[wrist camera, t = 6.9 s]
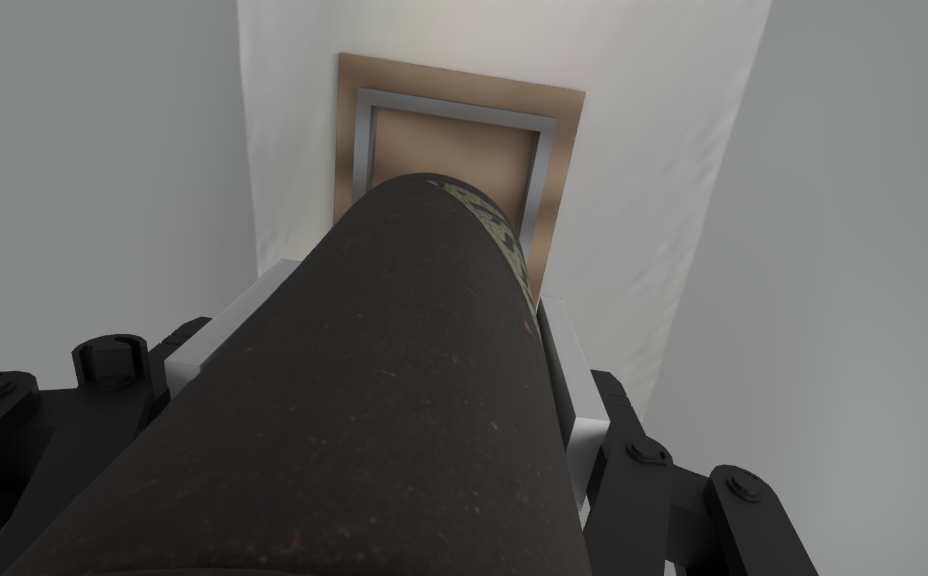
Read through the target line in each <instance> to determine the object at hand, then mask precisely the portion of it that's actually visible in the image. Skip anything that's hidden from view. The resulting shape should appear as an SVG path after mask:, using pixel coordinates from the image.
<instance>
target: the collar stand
mask: <svg viewBox="0 0 928 576" xmlns="http://www.w3.org/2000/svg"><path fill="white" fill-rule="evenodd" d="M585 94H586V92H582V91H576V90H570V89H563V88H557V87H551V86H545V85H538V84H532V83H526V82H520V81H513V80H507V79H501V78H495V77H489V76H482V75H476V74H470V73H464V72H457V71H451V70H445V69H439V68H432V67H426V66H420V65H414V64H408V63H401V62H395V61H389V60H383V59H376V58H370V57H364V56H358V55H351V54H345V53H340V54H339V82H338V110H337V139H336V167H335V195H334V223H333V227H334V225H335V224H336V223H337V222H338V221H339V220H340V218H341V217H342V216H343V215H344V214H345V212H346V211H347V210H348V209H349V208H350V207H351V206H352V205H353V204H355V203H356V202H357V201H358V200H359V199H360V198H361V197H362V196H364V195H365V194H366V193H367V192H368V191H370V190H371V189H372V188H374V187H375V186H377V185H379V184H380V183H382V182H384V181H386V180H389V179H392V178H394V177H397V176H401V175H406V174H412V173H437V174H442V175H447V176H450V177H453V178H456V179H459V180H461V181H464V182H466V183H468V184H470V185H472V186H474V187H475V188H477V189H479V190H480V191H482V192H483V193H485V194H486V195H487V196H488V197H490V198H491V199H492V200H493V201H494V202H495V203H496V204H497V205H498V206H499V207H500V208H501V209H502V210H503V212H504V213H505V215H506V216H507V218H508V219H509V221H510V222H511V224H512V226H513V228H514V230H515V232H516V234H517V236H518V238H519V241H520V244H521V247H522V251H523V255H524V259H525V264H526V269H527V273H528V278H529V282H530V287H531V293H532V297H533V301H534V306H535V310H536V305H537V301H538V297H539V292H540V288H541V284H542V279H543V275H544V271H545V266H546V262H547V258H548V253H549V249H550V245H551V241H552V236H553V232H554V228H555V223H556V219H557V215H558V210H559V206H560V202H561V197H562V193H563V189H564V184H565V180H566V176H567V171H568V167H569V163H570V158H571V154H572V150H573V146H574V141H575V137H576V133H577V128H578V124H579V120H580V115H581V111H582V107H583V102H584V98H585Z"/></svg>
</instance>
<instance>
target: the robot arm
mask: <svg viewBox="0 0 928 576" xmlns="http://www.w3.org/2000/svg"><path fill="white" fill-rule="evenodd" d="M301 262H302V261H295V260H288V259H281V260H280V261H279V262H278V263H277V264H275V265H274V266H273V267H272V268H271V269H270V270H268V271H267V272H266V273H265V274H264V275H263V276H262V277H260V278H259V279H258V280H257V281H256V282H255V283H253V284H252V285H251V286H250V287H249V288H248V289H247V290H245V291H244V292H243V293H242V294H241V295H240V296H238V297H237V299H235V300H234V301H233V302H231V303H230V304H229V305H228V306H227V307H226V308H225V309H223V310H222V311H221V312H220V313H219V314H218V315H216V316H215V317H214V318H207V317H199V318H197V319H194V320H192V321H189V322H187V323H185V324H183V325H182V326H180V327H179V328H178V329H177V330H175V331H174V332H173V333H172V335H169V336H168V337H167V338H165V339H164V340H163V341H162V343H159V344H158V345H157V346H155V347H154V348H153V349H152V350H151V351H149V352H148V349H147V342H146V341H145V340H144V339H143V338H141V337H139V336H135V335H131V334H114V335H106V336H101V337H98V338H94V339H91V340H88V341H86V342H84V343H82V344H80V345H78V346H77V347H76V348H75V349H74V350H73V351H72V352H71V353H72V357H73V362H74V367H75V371H76V376H77V380H78V387H77V388H73V389H57V390H40V391H39V389H38V385H37V381H36V377H35V376H33V375H32V374H30V373H27V372H20V371H9V372H0V576H1V575H2V574H3V573H4V572H5V571H6V570H7V569H8V568H9V567H10V566H11V565H12V564H13V563H14V562H15V561H16V560H17V559H18V558H19V557H20V556H21V555H22V554H23V553H24V552H25V551H26V550H27V548H28V547H29V546H30V545H31V544H32V543H33V542H34V541H35V540H36V539H37V538H38V537H39V536H40V535H41V534H42V533H43V531H44V530H45V529H46V528H47V527H48V526H49V525H50V524H51V523H52V522H53V521H54V520H55V519H56V518H57V517H58V515H59V514H60V513H61V512H62V511H64V510H65V509H66V508H67V507H68V506H69V505H70V504H71V502H72V501H73V500H74V499H75V498H76V497H77V496H78V495H79V494H80V493H81V492H82V491H84V490H85V489H86V488H87V487H88V486H89V485H90V484H91V483H92V482H93V481H94V480H95V478H96V477H97V476H98V475H100V474H101V473H102V472H103V471H104V470H105V469H106V468H107V467H108V466H109V465H110V464H111V463H112V462H113V461H114V460H115V459H116V458H117V457H118V456H119V455H120V454H121V453H122V452H123V451H124V450H125V449H126V448H127V447H128V446H129V445H130V444H131V443H132V442H133V441H134V440H135V439H136V438H137V437H138V436H139V435H140V434H141V433H142V432H143V431H144V430H145V429H146V427H147V426H148V425H149V424H150V423H151V422H152V421H153V420H155V419H156V418H157V417H158V416H159V415H160V414H161V413H162V411H163V410H164V409H165V408H166V407H167V406H168V404H169V403H170V401H171V400H172V399H173V398H174V397H175V396H176V395H177V394H178V393H179V392H180V391H181V390H182V389H183V388H184V387H185V385H186V384H187V383H188V382H189V381H191V380H193V379H194V378H195V377H196V376H197V375H198V374H199V373H200V372H201V371H202V369H203V368H204V367H205V366H206V365H207V364H208V363H209V362H210V361H211V360H212V358H213V357H214V356H215V355H216V354H217V353H218V352H219V351H220V350H221V349H222V348H223V346H224V345H225V344H226V343H227V342H228V341H229V339H230V338H231V337H232V336H233V335H234V334H235V333H236V332H237V331H238V330H239V329H240V328H241V327H242V325H243V324H244V323H245V322H246V321H247V320H248V319H249V318H250V317H251V316H252V315H253V314H254V313H255V311H256V310H257V309H258V308H259V307H260V306H261V305H262V304H263V303H264V302H265V301H266V300H267V299H268V298H269V297H270V295H271V294H272V293H273V292H274V291H275V290H276V289H277V288H278V287H279V285H280V284H281V283H282V282H283V281H284V280H285V279H286V278H287V277H288V276H289V275H290V274H291V273H292V272H293V271H294V270H295V269H296V268H297V267H298V266H299V265H300V264H301ZM536 316H537V321H538V326H539V330H540V335H541V341H542V345H543V349H544V354H545V357H546V361H547V365H548V370H549V375H550V380H551V385H552V390H553V396H554V401H555V407H556V411H557V417H558V421H559V426H560V431H561V436H562V440H563V446H564V450H565V455H566V459H567V465H568V470H569V474H570V479H571V483H572V487H573V491H574V496H575V500H576V504H577V509H578V511H581V509H582V506H583V503H584V500H585V497H586V494H587V497H588V501H589V505H590V512H589V515H588V518H587V521H586V524H585V527H584V529H583V536H584V540H585V544H586V548H587V552H588V557H589V561H590V566H591V570H592V575H593V576H664V568H665V560H668V561H670V562H672V563H674V566H675V571H676V575H677V576H819V575H818V573H817V571H816V570H815V567H814V566H813V564H812V562H811V560H810V558H809V556H808V554H807V552H806V550H805V548H804V546H803V544H802V543H801V541H800V539H799V537H798V535H797V533H796V531H795V529H794V528H793V525H792V523H791V522H790V520H789V518H788V516H787V514H786V512H785V510H784V508H783V506H782V504H781V502H780V500H779V498H778V497H777V495H776V494H775V493H774V491H773V490H772V488H771V487H770V486H769V485H768V484H766V483H765V482H764V481H763V480H762V479H760V478H759V477H758V476H756V475H754V474H752V473H751V472H749V471H747V470H744V469H742V468H739V467H736V466H731V465H720V466H716V467H715V468H714V469H713V471H712V472H711V474H710V477H709V478H708V477H706V476H703V475H700V474H697V473H694V472H691V471H689V470H686V469H683V468H681V467H679V466H676V465H674V464H673V460H672V456H671V455H670V454H669V452H668V451H667V450H666V448H665V447H663V446H662V445H661V444H660V443H658V442H657V441H655V440H653V439H651V438H650V437H648V436H646V434H645V432H644V430H643V428H642V426H641V424H640V422H639V420H638V418H637V416H636V413H635V411H634V409H633V407H631V403H630V401H629V399H628V397H626V393H625V391H624V388H623V386H622V384H621V383H620V382H619V381H618V380H617V379H616V378H615V377H614V376H613V375H612V374H611V373H610V372H604V371H597V370H590V369H589V366H588V364H587V361H586V359H585V356H584V354H583V351H582V348H581V346H580V343H579V341H578V338H577V336H576V333H575V331H574V328H573V326H572V323H571V320H570V318H569V315H568V313H567V310H566V308H565V305H564V303H563V300H562V299H560V298H553V297H546V296H540V301H539V305H538V309H537V314H536Z"/></svg>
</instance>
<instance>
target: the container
mask: <svg viewBox="0 0 928 576" xmlns="http://www.w3.org/2000/svg"><path fill="white" fill-rule="evenodd" d="M1 576H593V575H592V570H591V566H590V561H589V557H588V552H587V548H586V544H585V540H584V536H583V532H582V528H581V523H580V519H579V514H578V509H577V504H576V500H575V496H574V491H573V487H572V483H571V479H570V474H569V470H568V465H567V459H566V455H565V450H564V446H563V440H562V436H561V431H560V426H559V421H558V417H557V411H556V407H555V401H554V396H553V390H552V385H551V380H550V375H549V370H548V365H547V361H546V357H545V354H544V349H543V345H542V341H541V335H540V330H539V326H538V321H537V316H536V311H535V306H534V301H533V297H532V293H531V287H530V282H529V278H528V273H527V269H526V264H525V259H524V255H523V251H522V247H521V244H520V241H519V238H518V236H517V234H516V232H515V230H514V228H513V226H512V224H511V222H510V221H509V219H508V218H507V216H506V215H505V213H504V212H503V210H502V209H501V208H500V207H499V206H498V205H497V204H496V203H495V202H494V201H493V200H492V199H491V198H490V197H488V196H487V195H486V194H485V193H483V192H482V191H480V190H479V189H477V188H475V187H474V186H472V185H470V184H468V183H466V182H464V181H461V180H459V179H456V178H453V177H450V176H447V175H442V174H437V173H412V174H406V175H401V176H397V177H394V178H392V179H389V180H386V181H384V182H382V183H380V184H379V185H377V186H375V187H374V188H372V189H371V190H370V191H368V192H367V193H366V194H365V195H364V196H362V197H361V198H360V199H359V200H358V201H357V202H356V203H355V204H353V205H352V206H351V207H350V208H349V209H348V210H347V211H346V212H345V214H344V215H343V216H342V217H341V218H340V220H339V221H338V222H337V223H336V224H335V225H334V227H332V228H331V230H330V231H329V232H328V233H327V234H326V236H325V237H324V238H323V239H322V240H321V241H320V243H319V244H318V245H317V246H316V247H315V248H314V249H313V250H312V251H311V253H310V254H309V255H308V256H307V257H306V258H305V259H304V260H303V261H302V262H301V264H300V265H299V266H298V267H297V268H296V269H295V270H294V271H293V272H292V273H291V274H290V275H289V276H288V277H287V278H286V279H285V280H284V281H283V282H282V283H281V284H280V285H279V287H278V288H277V289H276V290H275V291H274V292H273V293H272V294H271V295H270V297H269V298H268V299H267V300H266V301H265V302H264V303H263V304H262V305H261V306H260V307H259V308H258V309H257V310H256V311H255V313H254V314H253V315H252V316H251V317H250V318H249V319H248V320H247V321H246V322H245V323H244V324H243V325H242V327H241V328H240V329H239V330H238V331H237V332H236V333H235V334H234V335H233V336H232V337H231V338H230V339H229V341H228V342H227V343H226V344H225V345H224V346H223V348H222V349H221V350H220V351H219V352H218V353H217V354H216V355H215V356H214V357H213V358H212V360H211V361H210V362H209V363H208V364H207V365H206V366H205V367H204V368H203V369H202V371H201V372H200V373H199V374H198V375H197V376H196V377H195V378H194V379H193V380H191V381H189V382H188V383H187V384H186V385H185V387H184V388H183V389H182V390H181V391H180V392H179V393H178V394H177V395H176V396H175V397H174V398H173V399H172V400H171V401H170V403H169V404H168V406H167V407H166V408H165V409H164V410H163V411H162V413H161V414H160V415H159V416H158V417H157V418H156V419H155V420H153V421H152V422H151V423H150V424H149V425H148V426H147V427H146V429H145V430H144V431H143V432H142V433H141V434H140V435H139V436H138V437H137V438H136V439H135V440H134V441H133V442H132V443H131V444H130V445H129V446H128V447H127V448H126V449H125V450H124V451H123V452H122V453H121V454H120V455H119V456H118V457H117V458H116V459H115V460H114V461H113V462H112V463H111V464H110V465H109V466H108V467H107V468H106V469H105V470H104V471H103V472H102V473H101V474H100V475H98V476H97V477H96V478H95V480H94V481H93V482H92V483H91V484H90V485H89V486H88V487H87V488H86V489H85V490H84V491H82V492H81V493H80V494H79V495H78V496H77V497H76V498H75V499H74V500H73V501H72V502H71V504H70V505H69V506H68V507H67V508H66V509H65V510H64V511H62V512H61V513H60V514H59V515H58V517H57V518H56V519H55V520H54V521H53V522H52V523H51V524H50V525H49V526H48V527H47V528H46V529H45V530H44V531H43V533H42V534H41V535H40V536H39V537H38V538H37V539H36V540H35V541H34V542H33V543H32V544H31V545H30V546H29V547H28V548H27V550H26V551H25V552H24V553H23V554H22V555H21V556H20V557H19V558H18V559H17V560H16V561H15V562H14V563H13V564H12V565H11V566H10V567H9V568H8V569H7V570H6V571H5V572H4V573H3V574H2V575H1Z"/></svg>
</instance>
